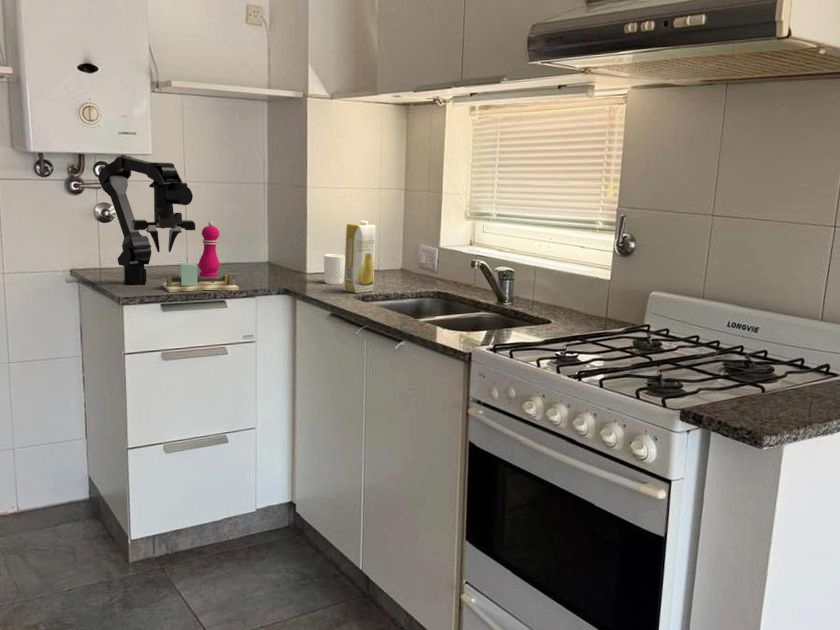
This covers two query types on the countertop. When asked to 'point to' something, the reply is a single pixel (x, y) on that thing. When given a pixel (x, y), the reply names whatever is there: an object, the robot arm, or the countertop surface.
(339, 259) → the white cup
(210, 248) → the pepper mill
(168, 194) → the robot arm
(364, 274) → the juice carton
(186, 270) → the sleeve
